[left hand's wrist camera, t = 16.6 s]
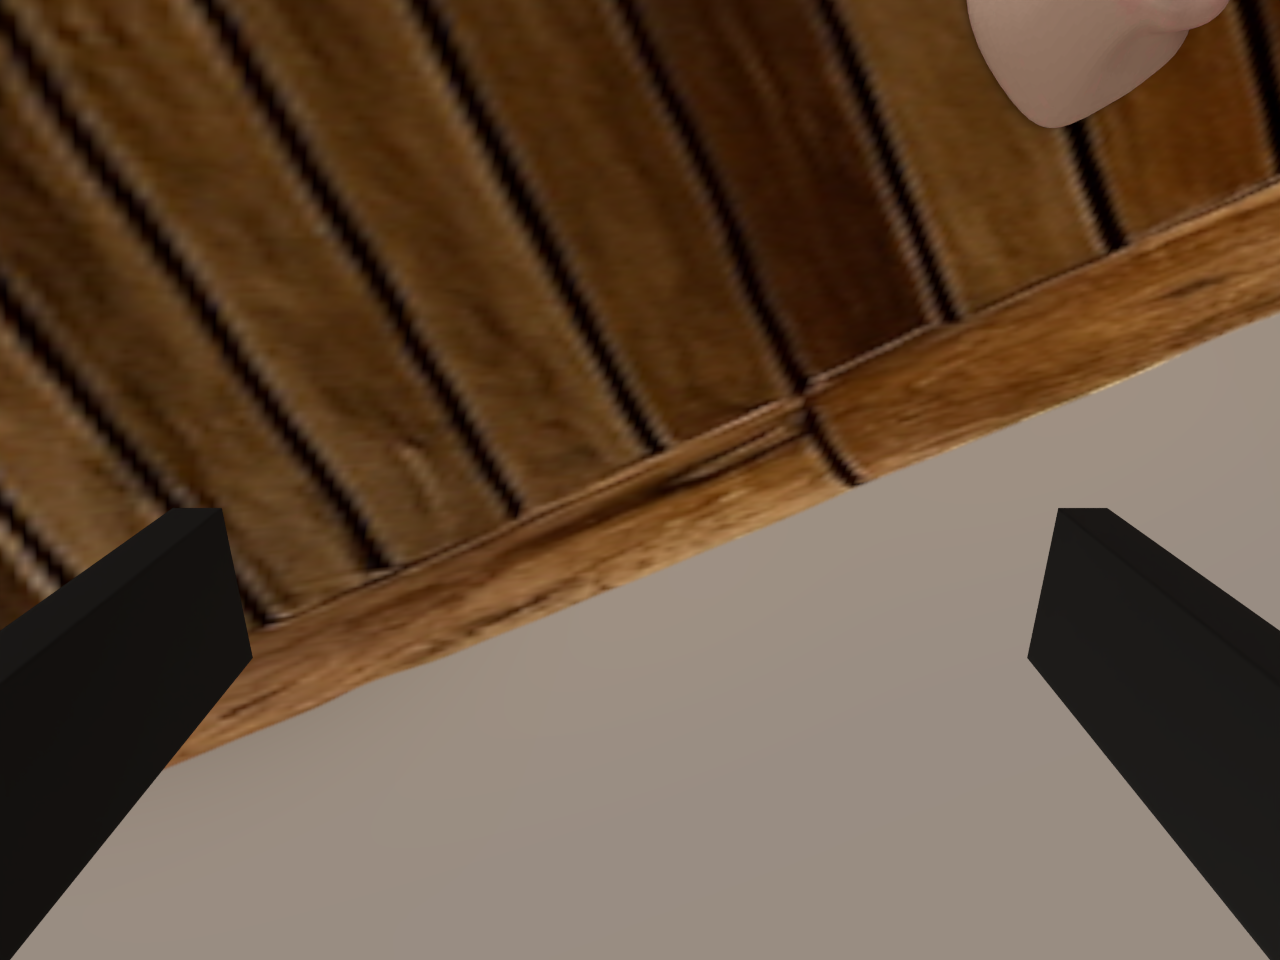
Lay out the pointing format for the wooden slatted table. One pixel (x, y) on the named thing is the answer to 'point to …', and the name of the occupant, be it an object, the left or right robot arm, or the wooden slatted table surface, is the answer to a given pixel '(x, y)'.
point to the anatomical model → (1080, 49)
